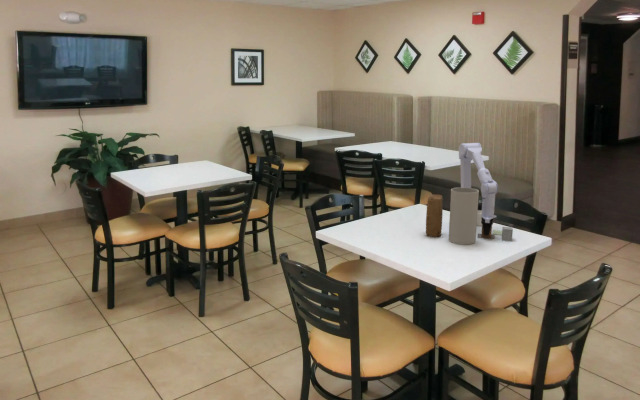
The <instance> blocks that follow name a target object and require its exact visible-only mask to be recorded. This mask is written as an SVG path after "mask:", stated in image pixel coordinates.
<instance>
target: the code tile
mask: <svg viewBox="0 0 640 400" xmlns="http://www.w3.org/2000/svg"><path fill="white" fill-rule="evenodd" d="M481 234H482V233H477V239H488V240H495V239H496V237H495V236H496V235H493V234H491V238H485V237H481Z"/></svg>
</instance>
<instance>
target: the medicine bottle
mask: <svg viewBox="0 0 640 400" xmlns="http://www.w3.org/2000/svg"><path fill="white" fill-rule="evenodd" d="M481 215H482V202H481V201H478V212H477V227H482V223H481V220H482V219H481V218H482V217H481Z"/></svg>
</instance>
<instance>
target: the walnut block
mask: <svg viewBox="0 0 640 400" xmlns="http://www.w3.org/2000/svg"><path fill="white" fill-rule="evenodd" d="M492 228H493V225H492V226H491V229H490V232H489V235H484V231H483V225H482V226H481V233H480V234H481V237H485V238H491V235H492V232H493V230H492Z"/></svg>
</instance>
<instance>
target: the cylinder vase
mask: <svg viewBox="0 0 640 400" xmlns="http://www.w3.org/2000/svg"><path fill="white" fill-rule="evenodd" d="M479 192H480V191H479V189H477V188H472V187H471V188H461V187H453V188H451V189H450V202H449V203H450V204H449V205H450V207H449V208H450V209H449V222H448V223H449V224H448V225H449V226H448V227H449V228H448V241H449V242H450V243H452V244H456V245H463V246H464V245H472V244H475V243H476V239H477V227H478V226H477V212H478V202H479V195H480V194H479Z"/></svg>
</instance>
